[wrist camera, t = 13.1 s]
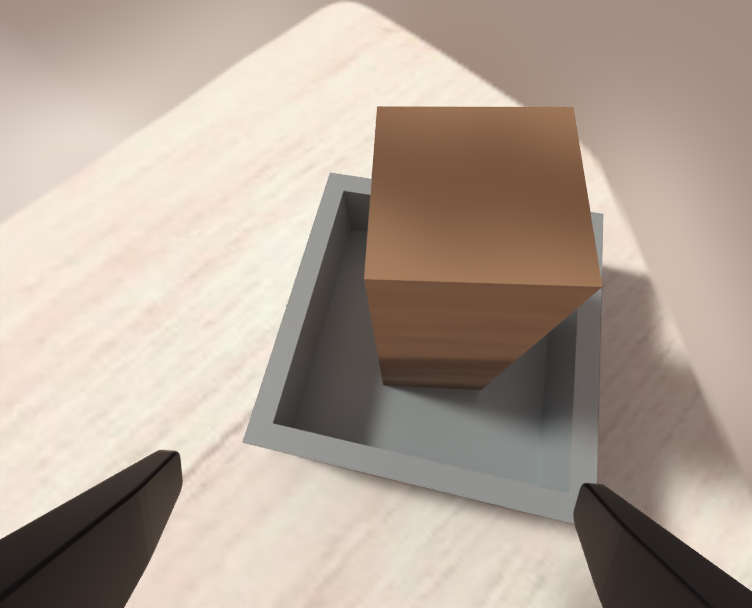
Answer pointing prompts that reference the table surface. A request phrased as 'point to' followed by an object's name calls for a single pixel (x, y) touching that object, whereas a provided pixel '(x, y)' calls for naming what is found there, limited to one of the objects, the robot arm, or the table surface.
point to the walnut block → (474, 239)
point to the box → (420, 404)
